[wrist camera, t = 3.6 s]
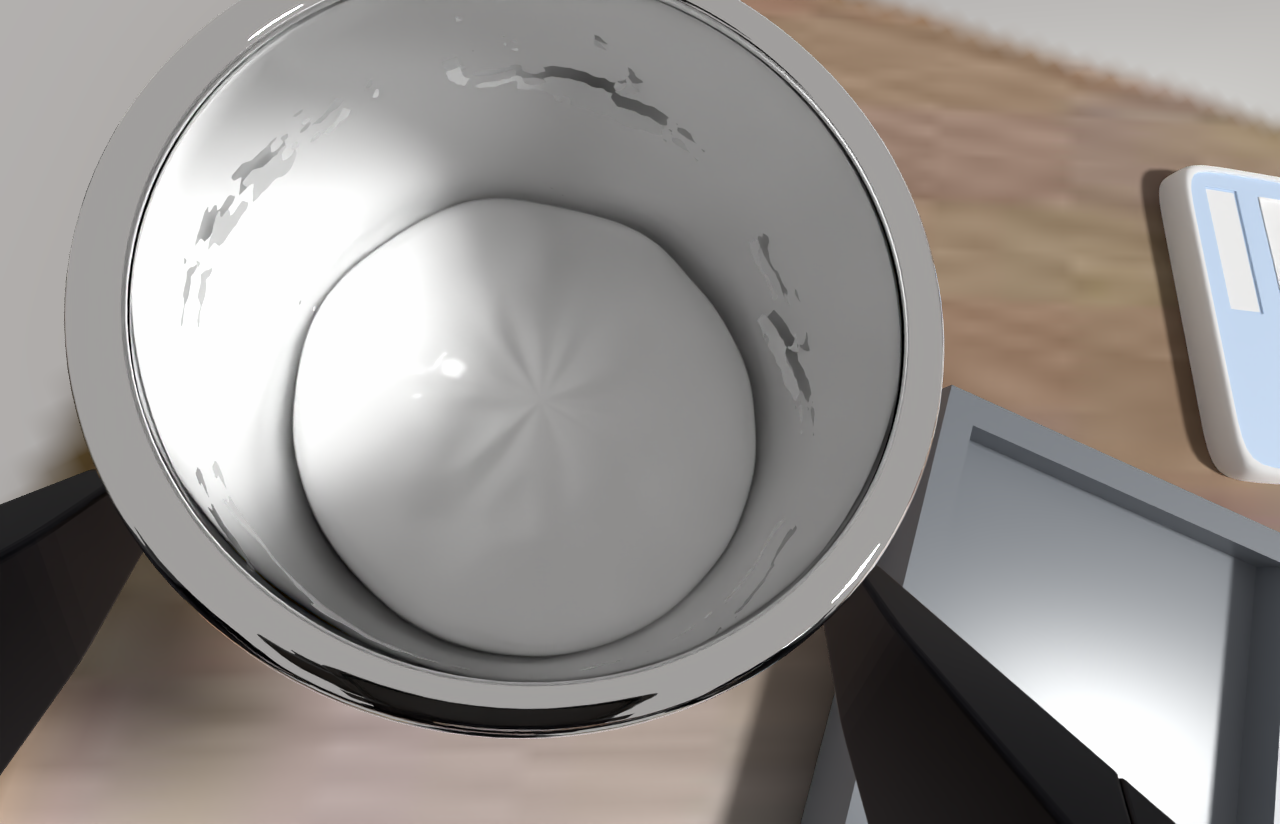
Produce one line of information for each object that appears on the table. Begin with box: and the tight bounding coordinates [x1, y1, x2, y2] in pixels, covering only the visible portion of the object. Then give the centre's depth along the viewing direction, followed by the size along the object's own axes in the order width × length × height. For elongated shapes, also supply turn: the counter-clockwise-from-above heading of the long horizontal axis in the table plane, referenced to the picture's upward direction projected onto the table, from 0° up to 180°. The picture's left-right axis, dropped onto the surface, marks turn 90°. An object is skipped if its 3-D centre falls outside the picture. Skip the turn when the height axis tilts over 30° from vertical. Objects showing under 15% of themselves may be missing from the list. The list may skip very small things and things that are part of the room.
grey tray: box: [801, 385, 1280, 824], centre depth 20 cm, size 16×14×2 cm
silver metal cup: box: [64, 0, 944, 739], centre depth 12 cm, size 7×7×15 cm
